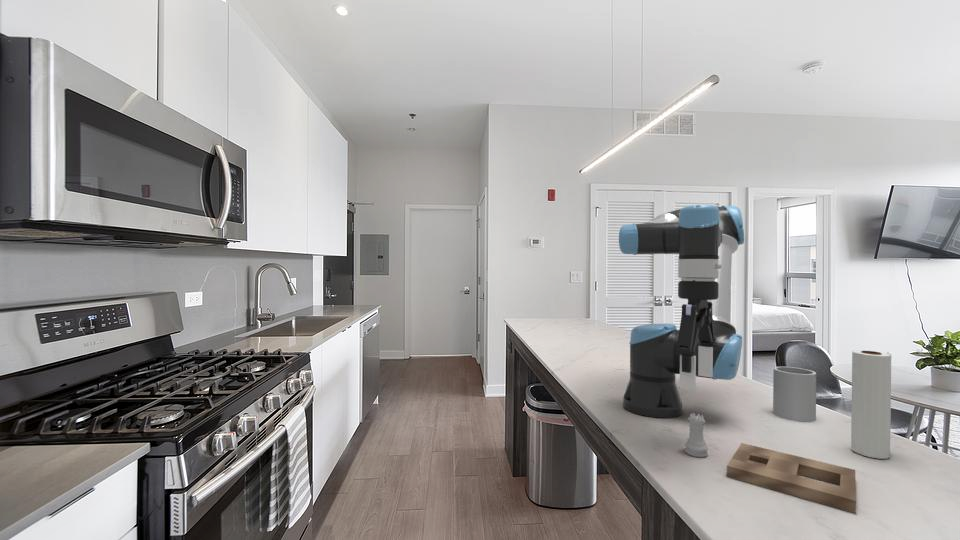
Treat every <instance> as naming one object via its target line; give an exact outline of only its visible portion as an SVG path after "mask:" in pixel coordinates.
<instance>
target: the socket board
mask: <svg viewBox="0 0 960 540" xmlns="http://www.w3.org/2000/svg"><path fill="white" fill-rule="evenodd" d="M726 477H728V478H732V479H734V480H738V481H742V482H745V483H749V484H753V485H756V486H759V487H762V488H766V489H769V490H772V491H776V492H779V493H784V494H787V495H790V496H793V497H797V498H801V499H804V500H808V501H811V502H815V503H818V504H822V505H825V506H829V507H833V508H835V509H839V510H842V511H846V512H849V513H853V514H857V494H856V493H857V490H856V489H857V487H856V486H857V484H856V482H857V481H856V480H857V479H856V469H853V468H850V467H844V466H842V465H836V464H832V463H827V462H823V461H820V460H815V459H811V458H806V457H802V456H798V455H794V454H790V453H785V452H782V451H777V450H772V449H769V448H764V447H761V446H755V445H751V444H748V443H743V442H741V443H740V444H739V446H738V448H737V450H736V451H735V452H734V454H733V455H732V457H731V459H730V460H729V462H728V463H727V465H726ZM818 480H819V481H818ZM822 481H823V482H822ZM825 482H826V483H825ZM834 484H835V485H834Z"/></svg>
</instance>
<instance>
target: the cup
mask: <svg viewBox="0 0 960 540" xmlns="http://www.w3.org/2000/svg"><path fill="white" fill-rule="evenodd" d="M772 378H773V380H772V381H773V382H772V383H773V384H772V388H773V389H772V391H773V392H772V395H773V396H772V414H774V415H775V416H776V417H778V418H781V419H785V420H787V421H789V420H790V421H795V422H801V423H812V422H815V421H816V420H817V372H816V371H814V370H811V369H806V368H801V367H792V366H774V367H773V377H772Z"/></svg>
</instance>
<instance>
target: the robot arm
mask: <svg viewBox="0 0 960 540" xmlns="http://www.w3.org/2000/svg"><path fill="white" fill-rule="evenodd" d="M744 231H745V230H744V221H743V216H742V211H741V209H740V208H739V207H738V206H737V205H721V206H716V205H713V204H694V205H688V206H684V207H682V208H680V209H674V210H671V211H667V212H665V213H661V214H658V215H657V216H655V217H654V218H653V219H652V220H651V221H647V222H643V223H627V224H623V225H622V226H621V227H620V229H619V233H618V247H619V250H620V252H621V253H622V254H624V255H634V256H637V255H678V261H677V262H678V265H677V268H678V269H677V278H679V279H680V280H679V281H678V283H677V297H678V298H679V299H682V300H684V299H685V300H687V304H685V303H684V304H682V305H681V316H680V317H681V318H680V324H679V329H677V325H676V324H674V323H652V324H642V325H637V326H635V327H633V328H632V329H631V331H630V340H629V381H628V383H627V385H626V389H625V391H624V395H623V397H622V406H623V409H624V408H625V409H626V410H627V411H629V412H631V413H634V414H635V415H636V414H637V415H641V416H645V417H651V418H675V417H676V418H677V417H678V416H679V417H680V416H682V414H683V403H682V400H681V397H680V393H679V390H678V386H677V384H676V375H679V388H682V389H685V390H693V391H695V390H696V384H697V383H696V382H697V381H696V378H697V377H698V378H703V379H704V378H705V379H710V380H711V379H712V380H723V381H724V380H725V381H732V380H733V379H735V378H736V376H737V375H738V371H739V366H740V361H741V355H742V347H743V336H742V334H738V333H737V329H736V327H735V326H734V325H733V324H732V323H731V322H730V321H731V320H730V319H731V318H730V317H731V316H730V315H731V294H732V293H731V289H732V287H731V286H732V266H733V265H732V264H733V263H732V261H733V260H732V259H733V254H735V253H736V252H737V250H738V248H739V246H740V245H744V243H745V232H744ZM625 409H624V410H625Z"/></svg>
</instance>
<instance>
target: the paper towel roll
mask: <svg viewBox="0 0 960 540" xmlns="http://www.w3.org/2000/svg"><path fill="white" fill-rule="evenodd" d="M851 352H852V354H851V419H850V421H851V424H850V425H851V427H850V429H851V430H850V431H851V432H850V433H851V434H850V448H851V450H852V451H853V452H855V453H856V454H858V455H861V456H865V457H868V458H874V459H879V460H885V459H889V458H890V457H891V421H892V419H891V416H892V413H891V411H892V408H891V407H892V406H891V405H892V402H891V401H892V354H891V353H889V351H887V352H882V351H881V352H878V351H874V350H873V351H872V350H852V351H851Z"/></svg>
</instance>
